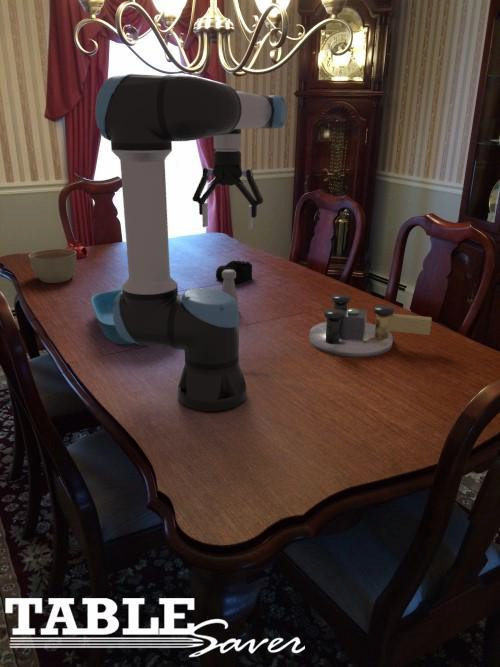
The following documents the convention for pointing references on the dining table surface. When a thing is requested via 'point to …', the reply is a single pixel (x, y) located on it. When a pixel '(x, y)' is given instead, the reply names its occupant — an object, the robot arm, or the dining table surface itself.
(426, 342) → the dining table surface
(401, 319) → the brass bar with knob
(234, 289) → the salt shaker
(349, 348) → the levelling base
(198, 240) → the dining table surface
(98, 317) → the casserole dish
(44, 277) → the planter bowl
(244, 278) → the film camera
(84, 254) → the pomegranate
